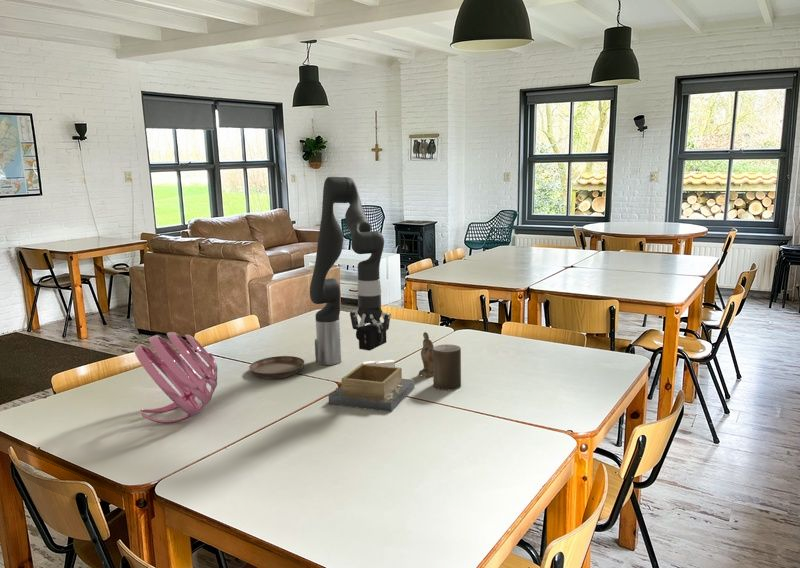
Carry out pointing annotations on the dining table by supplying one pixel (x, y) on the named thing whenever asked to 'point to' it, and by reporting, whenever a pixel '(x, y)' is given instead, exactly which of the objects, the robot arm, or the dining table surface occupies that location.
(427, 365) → the worn brown figurine
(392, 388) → the square wooden box
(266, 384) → the dining table surface
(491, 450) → the dining table surface
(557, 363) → the dining table surface
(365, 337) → the digital camera
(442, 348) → the pillar candle
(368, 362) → the white offset rectangular block
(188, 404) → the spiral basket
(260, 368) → the plant saucer
